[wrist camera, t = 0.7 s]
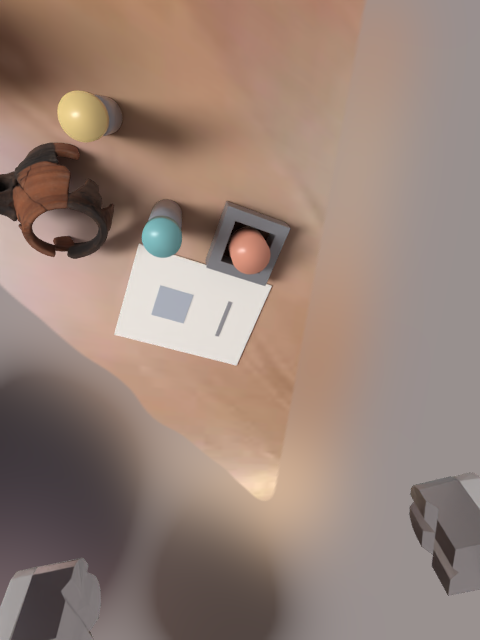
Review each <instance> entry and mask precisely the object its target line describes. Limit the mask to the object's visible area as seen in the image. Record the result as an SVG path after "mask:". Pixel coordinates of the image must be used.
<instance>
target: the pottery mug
mask: <svg viewBox="0 0 480 640" xmlns="http://www.w3.org/2000/svg"><path fill="white" fill-rule="evenodd" d="M57 156H60V157H67V158H71V159H75V160H78V159H79V156H80V155H79V153H78V148H77V147H75V146H73V145H70V144H65V143H47V144H43V145H40V146H38V147H36V148H34V149H33V150H32V151H30V152H29V154H28V155H27V157H26V158H25V159H24V161H22V162H21V163H20V164H19V166H18V167H17V168H15V172H11V173H8V174H2V175H0V214H1V215H5V216H7V217H9V218H10V219H12V220H13V221H17V219H18V221H19V222H20V223H21V224H19V227H20V229H21V230H22V233H23V235H24V238H25V239H26V241H27V242H28V243H29V244H30V245H31V247H33V248H34V249H36V250H37V251H39V252H40V253H42V254H45V255H48V256H51V257H54V256H55V251H68V254H67V255H68V257H71V258H73V259H76V258H81V257H84V256H87V255H90V254H92V253H94V252H96V251H97V250H98V249H99V248H100V247H101V246H102V245H103V244H104V242H105V241H106V238H107V235H108V231H109V230H110V228H111V223H112V217H113V212H114V205H113V204H110V205H109V206H108V207H106V208H103V209H101V206H102V198H101V195H100V193H99V187H98V185H97V184H96V183H95V182H94V181H92V180H91V179H87V180H86V182H85V185H84V186H82V187H80V188H79V189H78V190H76V191H74V192H72V193H69V192H68V191H69V181H70V176H71V173H70V172H69V170H68V169H67V168H66V167H65V166H62V165H59V162H58V160H57ZM63 208H70V209H74V210H78V211H81V212H84V213H85V214H87V215H89V216H90V217H92V218H93V219H94V220H95V221H96V222H97V224H98V227H99V231H98V234H97V236H96V237H95V238H94V239H92V240H91V241H88V242H84V243H74V242H73V240H72V239H71V238H70V237H68V236H62V237H56V238H54V240H53V242H54V244H55V245H52V244H49V243H46V242H44V241H42V240H40V239H39V238H37V237H36V236H35V234H34V233H33V230H32V224H33V222H34V221H35V219H36V218H37V217H38V216H39V215H41V214H43V213H45V212H46V211H50V210H53V209H63Z"/></svg>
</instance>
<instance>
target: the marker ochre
mask: <svg viewBox="0 0 480 640" xmlns="http://www.w3.org/2000/svg"><path fill="white" fill-rule="evenodd" d="M57 112H58V119H59V122H60V125H61V127H62V128H63V130H64V131H65V132H66V133H67V134H68V135H69V136H70V137H71V138H73V139H75V140H77V141H80V142H92V141H95V140H98V139H100V138H101V137H103V136H106V135H109V134H112V133H114V132H116V131H117V130H118V129H119V128H120V126H121V124H122V112H121V109H120V107H119V106H118V104H117V103H116V102H115V101H114V100H113V99H111V98H109V97H106V96H100V95H94V94H91V93H89V92H84V91H72V92H69V93H67V94H65V95H64V96H63V97H62V99H61V100H60V102H59V105H58V111H57Z"/></svg>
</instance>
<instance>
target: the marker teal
mask: <svg viewBox="0 0 480 640" xmlns="http://www.w3.org/2000/svg"><path fill="white" fill-rule="evenodd" d="M181 226H182V211H181V208H180V207H179V205H178V204H177V203H176V202H174V201H172V200H169V199H163V200H160V201H158V202H157V203H156V204H155V205H154V207H153V209H152V212H151V214H150V217H149V220H148V222H147V223H146V225H145V227H144V230H143V232H142V243H143V245H144V247H145V249H146V250H147V251H148V252H149V253H150V254H151V255H153V256H156V257H159V258H167V257H170V256H172V255H174V254H175V253H176V252H177V251H178V250H179V248H180V246H181V242H182V231H181Z"/></svg>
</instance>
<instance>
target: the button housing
mask: <svg viewBox="0 0 480 640" xmlns="http://www.w3.org/2000/svg"><path fill="white" fill-rule="evenodd" d="M235 221H237V222H240V223H243V224H245V225H248V226H251V227H254V228H257V229H259V230H262V231H265V232H268V233H270V234H269V236H268V238H267V241H266V243H267V245H268V246H269V249H270V260H269V263H268V265H267V266H266V267H265V268H264V269H263V270H262V271H261V272H259V273H256V274H244V273H242V272H240V271H238V270H237V269H236V268H235V266H234V265H233V262H232V259H231V257H228V256H225V255H223V253H224V250H225V248H226V245H227V242H228V240H229V237H230V234H231V232H232V229H233V226H234V224H235ZM289 230H290V227H289V226H288V225H287V224H286V223H285V222H283V221H280V220H277V219H275V218H272V217H269V216H267V215H264V214H261V213H258V212H256V211H253V210H250V209H248V208H245V207H242V206H239V205H237V204H234V203H231V202H228V201H226V204H225V207H224V209H223V212H222V215H221V218H220V221H219V223H218V226H217V229H216V232H215V235H214V238H213V240H212V243H211V246H210V249H209V252H208V255H207V257H206V268H209V269H212V270H215V271H218V272H221V273H225V274H228V275H231V276H234V277H237V278H240V279H244V280H247V281H250V282H253V283H256V284H259V285H263V286H266V283H267V281H268V279H269V276H270V274H271V272H272V270H273V267H274V265H275V263H276V260H277V258H278V256H279V253H280V251H281V249H282V247H283V244H284V242H285V240H286V237H287V235H288V233H289Z"/></svg>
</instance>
